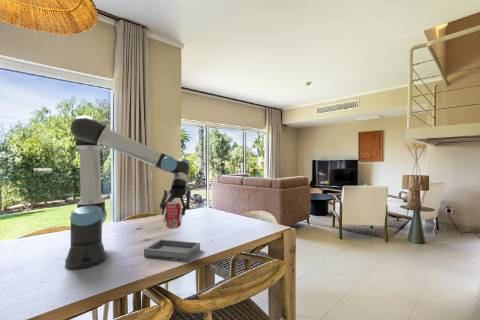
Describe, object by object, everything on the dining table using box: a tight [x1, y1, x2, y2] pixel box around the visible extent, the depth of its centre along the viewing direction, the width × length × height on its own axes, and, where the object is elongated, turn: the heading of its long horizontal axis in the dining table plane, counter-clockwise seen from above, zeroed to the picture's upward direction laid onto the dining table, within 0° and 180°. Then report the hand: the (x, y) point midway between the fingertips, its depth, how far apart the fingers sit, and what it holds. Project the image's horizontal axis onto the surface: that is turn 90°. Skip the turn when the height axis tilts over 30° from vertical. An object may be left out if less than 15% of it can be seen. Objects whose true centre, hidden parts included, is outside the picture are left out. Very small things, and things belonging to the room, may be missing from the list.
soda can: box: [165, 201, 182, 230], centre depth 116 cm, size 7×7×12 cm
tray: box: [143, 238, 201, 262], centre depth 116 cm, size 22×14×4 cm, turn 77°
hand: (171, 220), depth 112 cm, fingers closed on soda can, 7 cm apart
